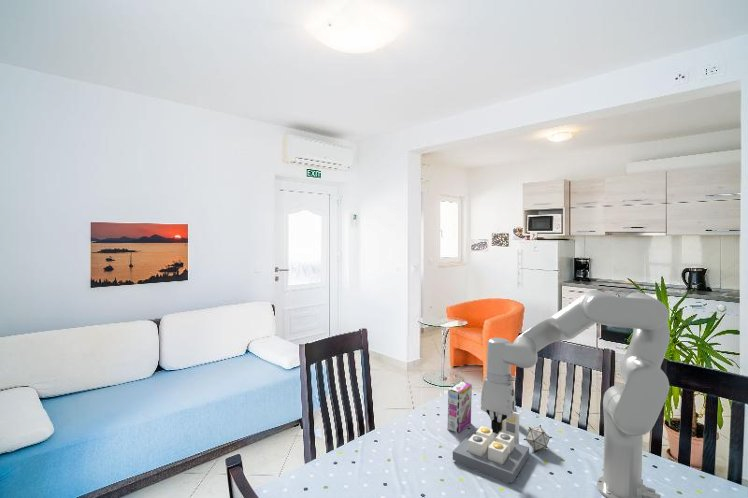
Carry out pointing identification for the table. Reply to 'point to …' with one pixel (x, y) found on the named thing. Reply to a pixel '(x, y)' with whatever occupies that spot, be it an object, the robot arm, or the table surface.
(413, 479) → the table surface
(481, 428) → the button
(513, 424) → the card
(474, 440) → the button
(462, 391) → the candy bar box
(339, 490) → the table surface
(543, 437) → the game die
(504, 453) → the button
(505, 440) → the button
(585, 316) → the robot arm
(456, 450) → the board
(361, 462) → the table surface
